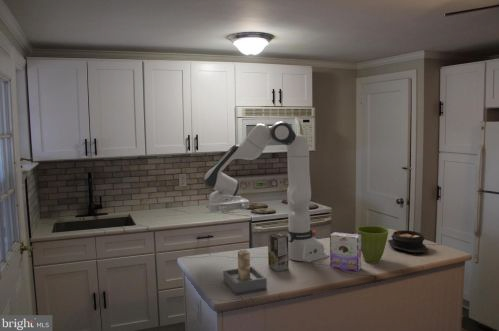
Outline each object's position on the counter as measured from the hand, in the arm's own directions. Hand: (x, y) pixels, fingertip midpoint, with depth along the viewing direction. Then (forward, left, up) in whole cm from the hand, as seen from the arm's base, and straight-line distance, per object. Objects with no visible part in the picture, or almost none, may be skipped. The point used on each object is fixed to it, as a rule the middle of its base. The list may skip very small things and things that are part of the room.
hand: (234, 208), depth 192 cm
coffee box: (-21, +4, -31) cm, 37 cm away
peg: (+2, +18, -30) cm, 34 cm away
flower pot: (-68, +15, -31) cm, 76 cm away
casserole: (-97, +7, -31) cm, 102 cm away
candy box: (-50, +18, -31) cm, 61 cm away
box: (+2, +18, -31) cm, 35 cm away
